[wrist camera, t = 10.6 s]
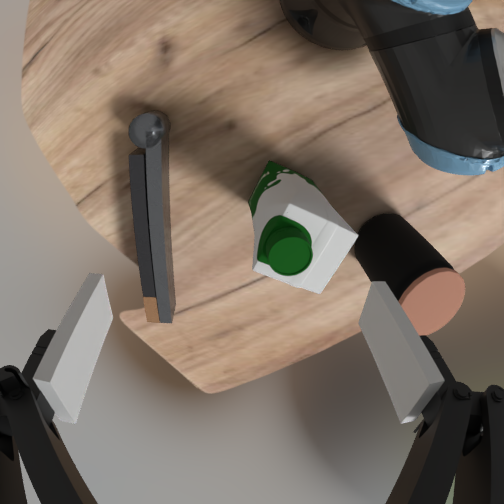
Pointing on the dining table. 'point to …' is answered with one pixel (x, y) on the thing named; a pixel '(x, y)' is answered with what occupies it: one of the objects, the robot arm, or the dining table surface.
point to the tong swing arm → (143, 231)
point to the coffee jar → (410, 271)
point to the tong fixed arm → (158, 203)
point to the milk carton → (296, 230)
